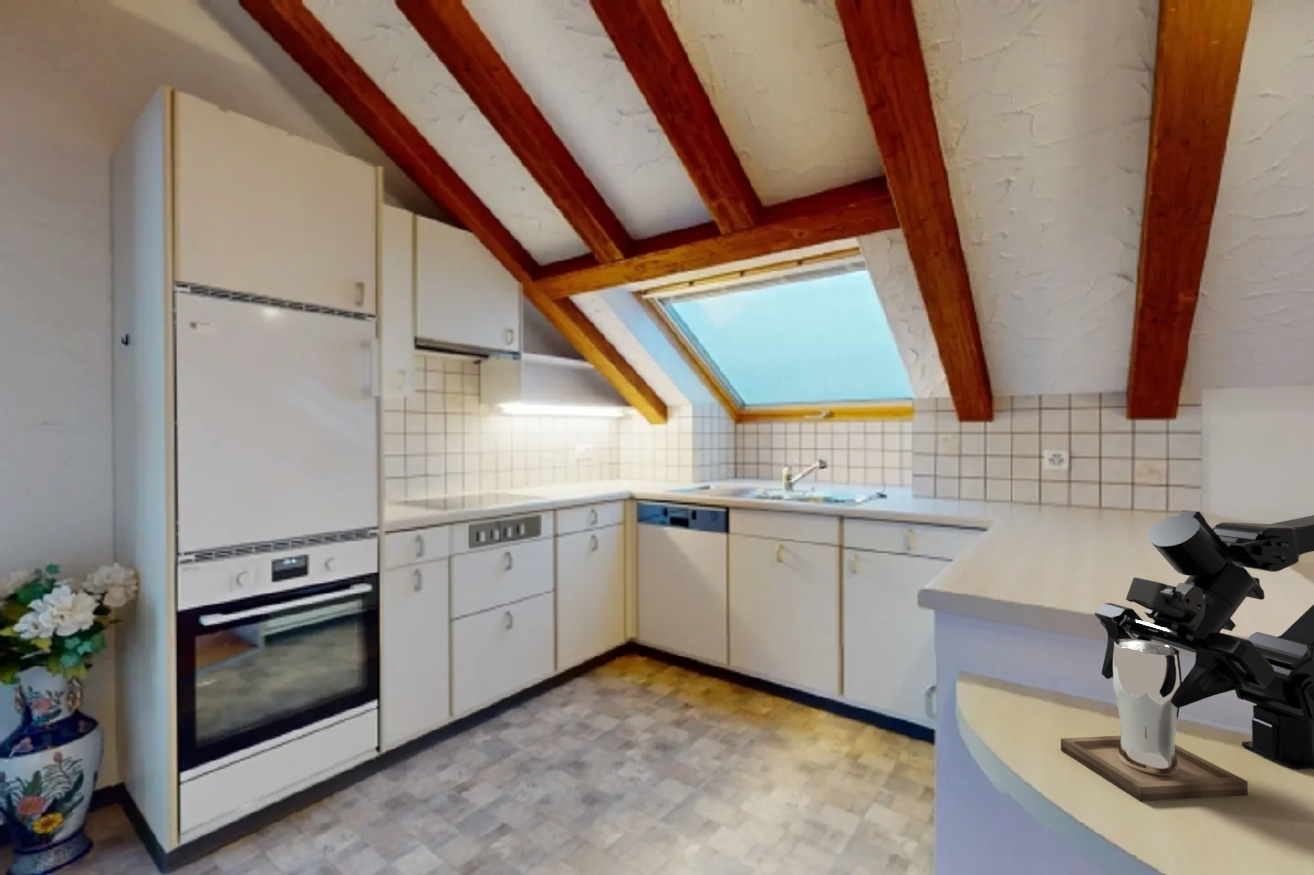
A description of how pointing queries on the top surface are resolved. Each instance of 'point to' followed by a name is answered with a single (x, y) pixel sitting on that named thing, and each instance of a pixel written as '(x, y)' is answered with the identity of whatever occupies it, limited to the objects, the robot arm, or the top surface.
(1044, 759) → the top surface
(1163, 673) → the silver metal tumbler
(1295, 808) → the top surface
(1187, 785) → the walnut tray
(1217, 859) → the top surface
